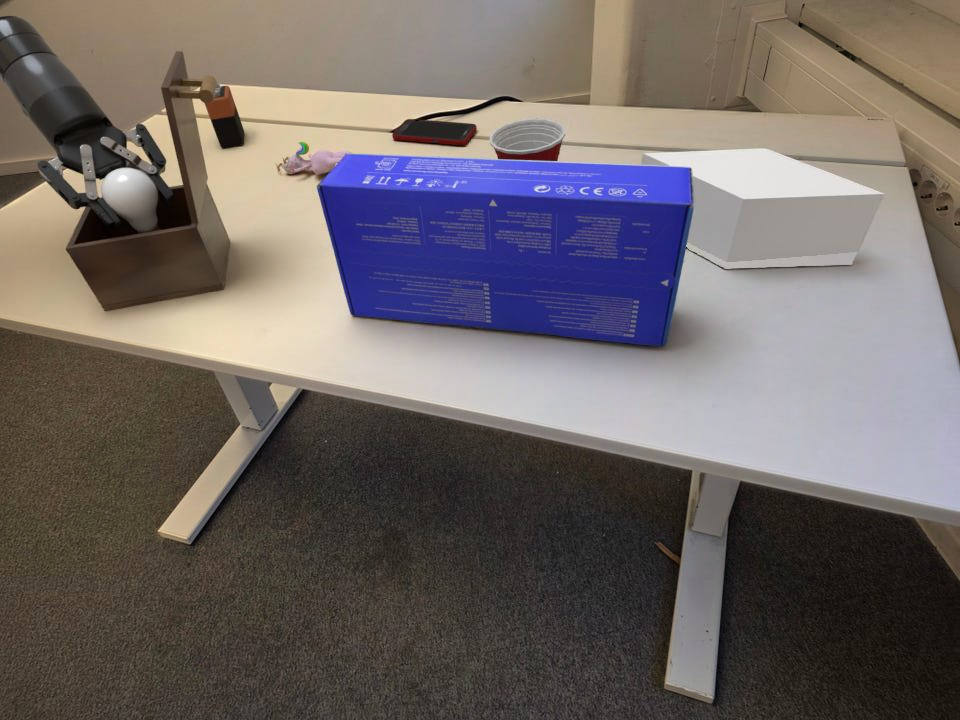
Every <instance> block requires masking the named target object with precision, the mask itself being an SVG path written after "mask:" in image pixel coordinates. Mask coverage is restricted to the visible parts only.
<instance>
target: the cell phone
mask: <svg viewBox="0 0 960 720" xmlns="http://www.w3.org/2000/svg"><path fill="white" fill-rule="evenodd" d="M415 120H418V118H407V119H405V120H404V121H403V122H402V123H401V124H400V125H399V126H398V127H397V128H396V129H395V130H394V131H393V133H392V134H391V136H392V139H393V140H396V141H404V142H405V141H406V142H417V143H427V144H428V143H429V144H439V145H440V144H441V145H450V146H451V145H453V146H465V145H467V143H469V141H470V139H471V138H472V137H473V135H474V134H475V133H476V131H477V125H476V124H475V123H469V122H458V121H456V122H455V121H445V120H444V121H443V120H430V119H419V121H415Z"/></svg>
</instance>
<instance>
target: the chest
mask: <svg viewBox="0 0 960 720" xmlns="http://www.w3.org/2000/svg"><path fill="white" fill-rule="evenodd" d="M168 187H169V188H170V189H171V190H172V193H173V199H172V200H173V201H172V205H170V206H168V207H166V206H165V205H164V204H163V202H162V201H161V200H160V199H159V197H158V204H157V208H156V214H157V218H158V225H159V228H160V230H159V231H153V232H147V233H141V234H139V233H138V232H137V230H135V229H134V228H133V227H132V226H131V225H130V223H129V222H128V221H126V220H125V219H123V218H121V217H120V216H118V215H117V217H118V218H119V219H120V221H121V222H122V228H120V229H118V230H115V228H114V227H111V228H109V227H107V226H106V225H105V224H104V223H103V221H102V220H101V219H100V218H99V216H98V215H97V214H96V213H95V211H94V210H93V209H92V208H90V207H84V209H83V212H82V214H81V215H80V217H79V219H78V221H77V224H76V225H75V227H74V231H73V233H72V235H70V239H69V241H68V243H67V244H66V247H65V251H66V252H67V254H68V255H69V257H70V259H71V260H72V262H73V263H74V265H75V266H76V268H77V270H78V272H79V273H80V275H81V277H83V279H84V280H85V283H86V284H87V285H88V287H89V289H90V290H91V292H92V293H93V294H94V297H95V298H96V300H97V302H98V303H99V304H100V306H101V308H102V309H103V311H104V312H107V311H112V310H117V309H123V308H128V307H133V306H140V305H144V304H150V303H155V302H156V303H157V302H163V301H167V300H172V299H177V298H184V297H189V296H194V295H200V294H205V293H211V292H216V291H223V290H225V285H226V278H227V277H226V276H227V269H228V260H229V252H230V245H231V239H230V237H229V234H228V232H227V230H226V226H225V225H224V222H223V219H222V217H221V215H220V212H219V210H218V207H217V205H216V202H215V200H214V197H213V194H212V192H211V189H210V187H209V185H208V183H207V184H206V189H205V194H204V199H203V204H202V209H201V214H200V219H199V223H198V224H192V222H191V217H190V213H189V209H188V204H187V200H186V195H185V191H184V187H183V184H179V185H172V186H168Z"/></svg>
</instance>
